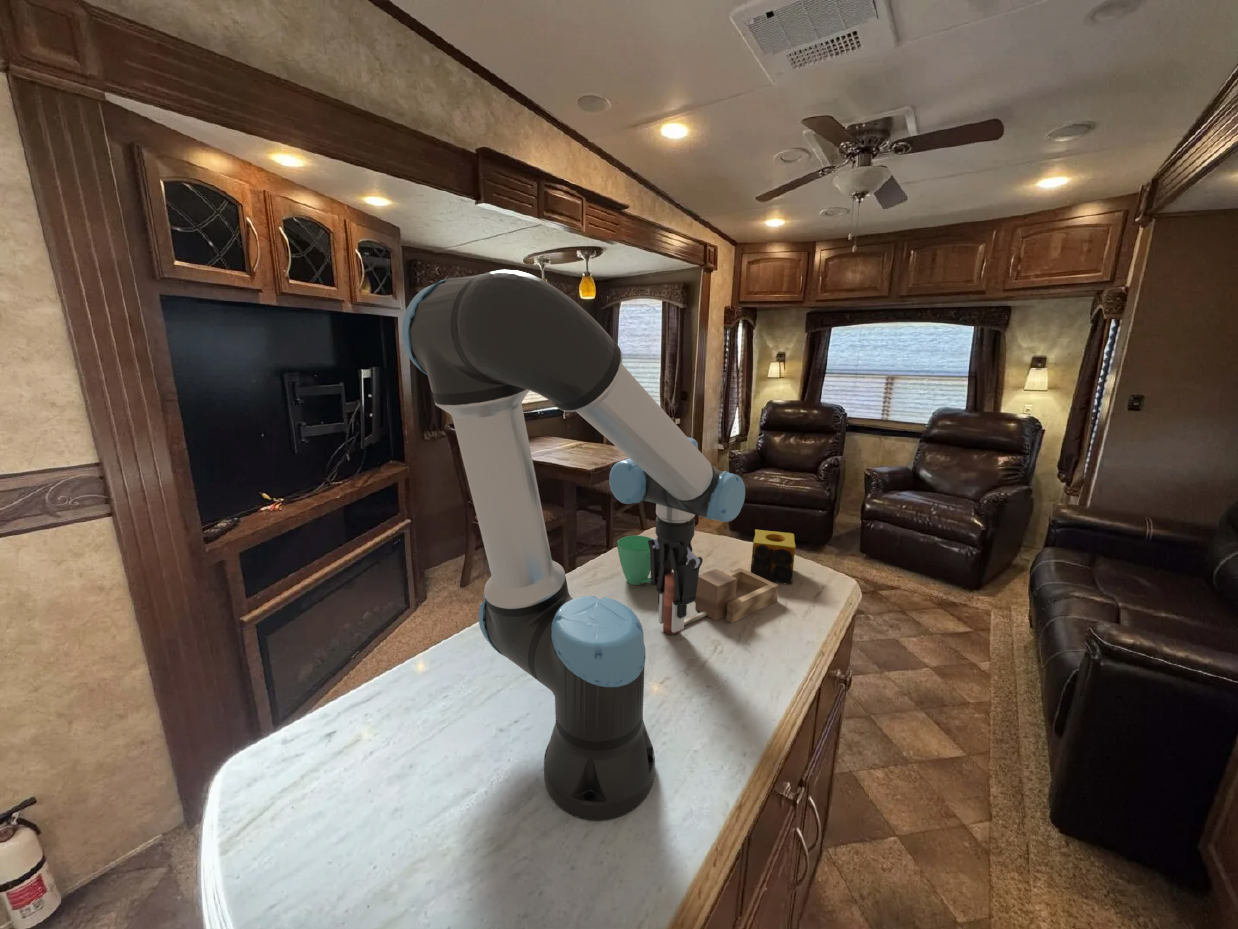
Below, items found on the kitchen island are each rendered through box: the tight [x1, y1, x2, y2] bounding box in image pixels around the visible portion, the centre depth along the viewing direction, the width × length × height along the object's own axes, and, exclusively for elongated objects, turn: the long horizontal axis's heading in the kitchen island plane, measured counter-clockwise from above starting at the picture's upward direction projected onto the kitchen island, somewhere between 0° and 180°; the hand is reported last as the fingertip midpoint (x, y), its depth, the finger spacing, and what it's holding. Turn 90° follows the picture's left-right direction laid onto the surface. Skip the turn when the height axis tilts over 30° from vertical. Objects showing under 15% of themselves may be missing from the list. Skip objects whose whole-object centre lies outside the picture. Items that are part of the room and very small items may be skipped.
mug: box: [616, 534, 658, 586], centre depth 118 cm, size 15×10×10 cm
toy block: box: [750, 529, 797, 585], centre depth 123 cm, size 10×10×10 cm
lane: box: [694, 567, 779, 624], centre depth 110 cm, size 16×11×4 cm
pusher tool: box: [662, 568, 737, 635], centre depth 102 cm, size 18×6×12 cm, turn 126°
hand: (671, 625), depth 99 cm, fingers closed on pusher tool, 3 cm apart
